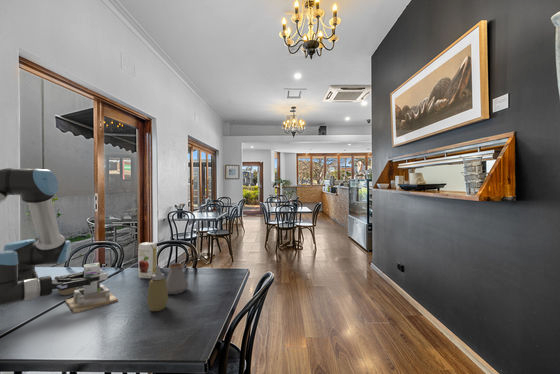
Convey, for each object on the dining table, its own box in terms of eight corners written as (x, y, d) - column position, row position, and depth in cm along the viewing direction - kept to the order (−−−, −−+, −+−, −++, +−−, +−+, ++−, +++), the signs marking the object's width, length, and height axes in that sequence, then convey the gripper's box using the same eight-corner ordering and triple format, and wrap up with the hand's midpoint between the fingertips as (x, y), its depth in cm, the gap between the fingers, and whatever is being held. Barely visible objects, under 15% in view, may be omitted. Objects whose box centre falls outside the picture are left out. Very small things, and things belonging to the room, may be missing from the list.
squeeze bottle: (147, 314, 111) (147, 269, 111) (146, 306, 118) (147, 264, 118) (168, 310, 115) (169, 267, 115) (167, 303, 122) (167, 262, 122)
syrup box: (83, 300, 119) (84, 267, 119) (83, 296, 123) (83, 263, 123) (99, 297, 122) (100, 264, 122) (98, 293, 127) (99, 261, 127)
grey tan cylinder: (57, 297, 127) (58, 281, 127) (56, 292, 133) (57, 276, 133) (85, 292, 134) (86, 276, 134) (83, 287, 140) (84, 272, 140)
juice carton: (144, 274, 162) (145, 241, 161) (158, 274, 160) (158, 242, 160) (136, 278, 154) (136, 244, 154) (150, 279, 153) (150, 244, 153)
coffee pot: (175, 297, 128) (176, 265, 128) (157, 293, 133) (157, 262, 133) (206, 283, 147) (206, 255, 147) (189, 280, 152) (189, 252, 152)
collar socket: (65, 301, 122) (65, 290, 122) (106, 291, 134) (106, 281, 134) (73, 313, 112) (73, 300, 112) (117, 301, 123) (117, 290, 123)
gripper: (34, 290, 116) (98, 277, 133) (42, 304, 103) (111, 287, 120) (35, 272, 116) (98, 261, 133) (42, 283, 103) (111, 270, 120)
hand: (104, 274), depth 127 cm, fingers closed on syrup box, 6 cm apart
